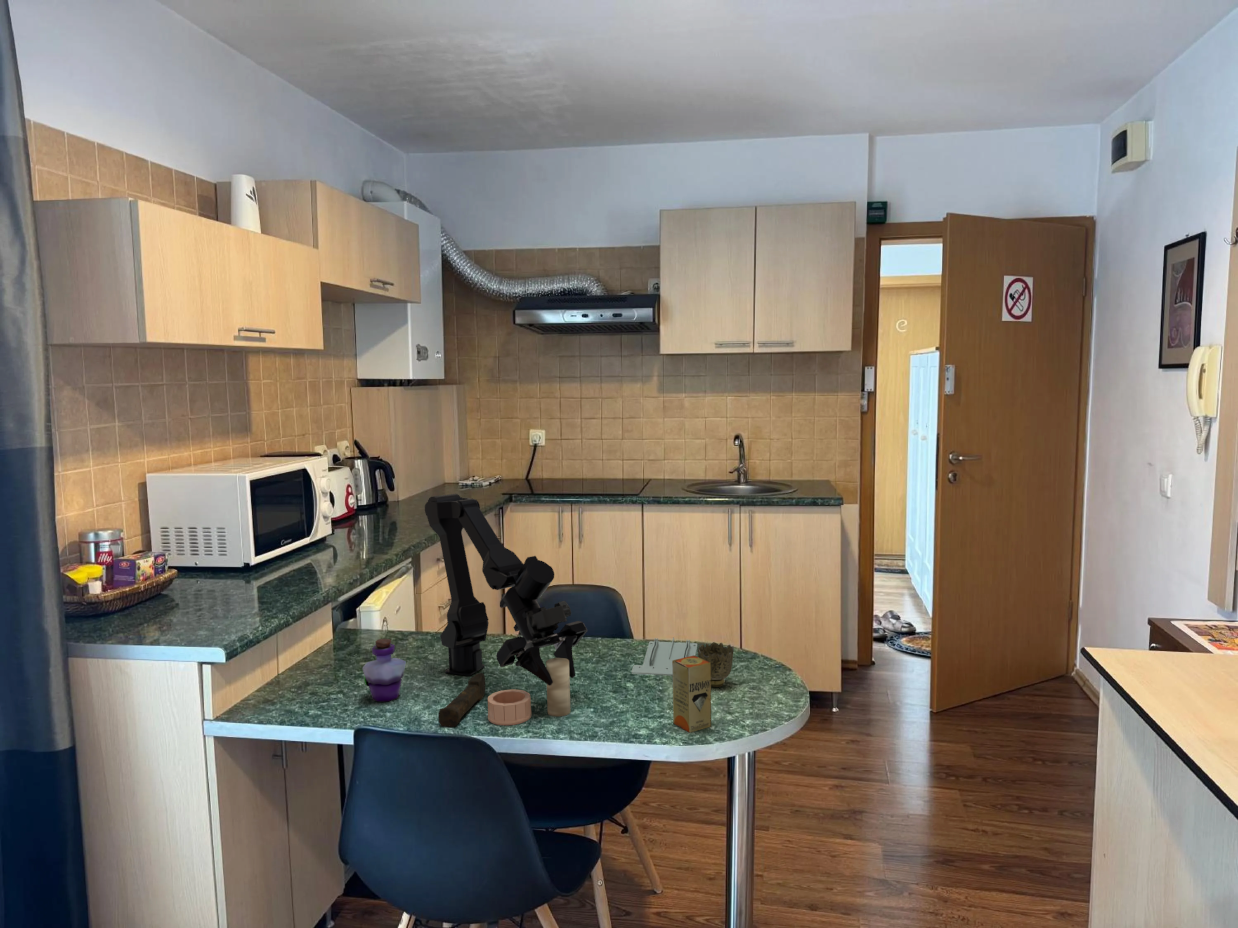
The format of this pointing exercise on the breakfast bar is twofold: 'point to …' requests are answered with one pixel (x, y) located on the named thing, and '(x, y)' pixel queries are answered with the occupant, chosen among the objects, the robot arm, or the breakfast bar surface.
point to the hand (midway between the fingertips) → (562, 680)
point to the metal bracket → (664, 657)
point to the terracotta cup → (509, 707)
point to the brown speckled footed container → (717, 661)
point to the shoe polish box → (691, 693)
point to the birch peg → (558, 687)
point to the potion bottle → (384, 672)
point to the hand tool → (463, 701)
